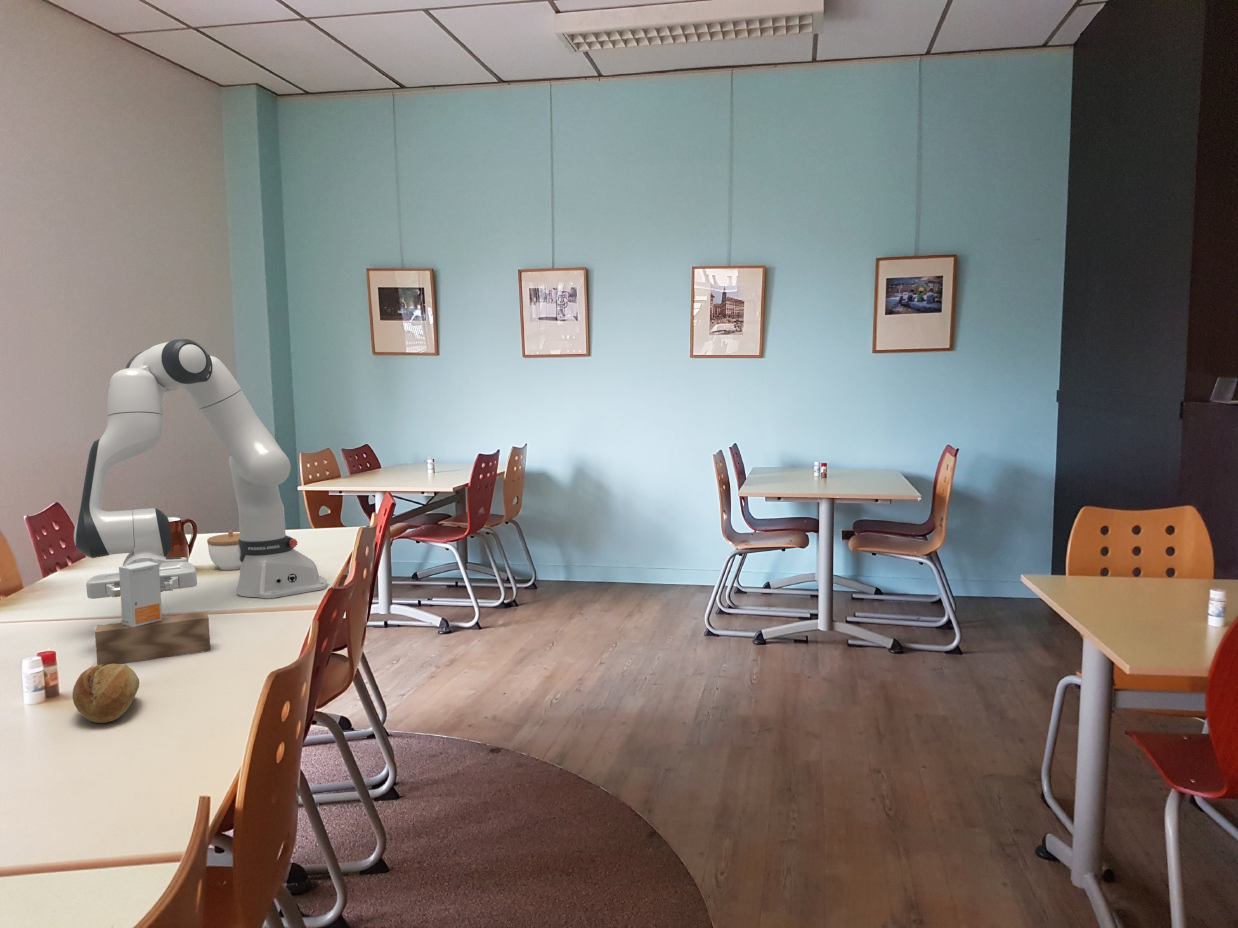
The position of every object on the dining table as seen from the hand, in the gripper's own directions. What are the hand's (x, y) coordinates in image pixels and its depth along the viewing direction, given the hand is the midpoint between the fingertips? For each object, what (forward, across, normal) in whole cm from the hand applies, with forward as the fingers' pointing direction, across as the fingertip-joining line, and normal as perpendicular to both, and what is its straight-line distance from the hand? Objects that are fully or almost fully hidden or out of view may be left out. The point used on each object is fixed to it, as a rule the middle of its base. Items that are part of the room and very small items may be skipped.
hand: (142, 589), depth 171 cm
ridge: (+2, +2, +13) cm, 14 cm away
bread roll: (+31, -6, +14) cm, 34 cm away
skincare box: (+2, 0, +6) cm, 7 cm away
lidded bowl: (-76, +21, +14) cm, 80 cm away
